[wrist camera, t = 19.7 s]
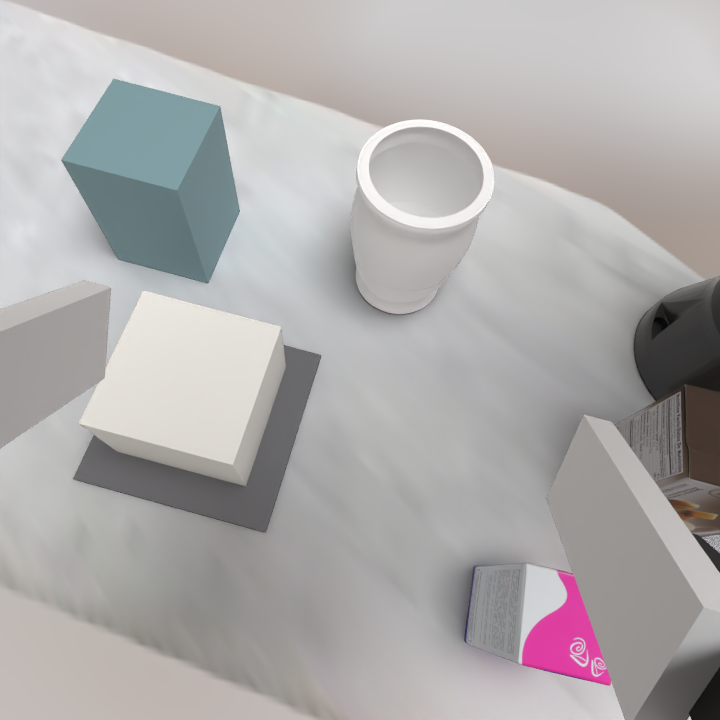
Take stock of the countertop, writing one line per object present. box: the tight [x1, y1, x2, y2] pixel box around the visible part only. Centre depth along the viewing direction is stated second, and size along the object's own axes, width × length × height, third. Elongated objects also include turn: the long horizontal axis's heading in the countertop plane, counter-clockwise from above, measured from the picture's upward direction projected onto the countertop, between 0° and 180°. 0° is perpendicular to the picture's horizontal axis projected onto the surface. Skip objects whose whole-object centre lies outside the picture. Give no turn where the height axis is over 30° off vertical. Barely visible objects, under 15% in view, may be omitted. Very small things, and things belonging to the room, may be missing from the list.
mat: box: [73, 345, 321, 533], centre depth 46 cm, size 16×16×1 cm
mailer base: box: [62, 79, 240, 283], centre depth 48 cm, size 9×9×13 cm
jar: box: [351, 120, 495, 314], centre depth 47 cm, size 11×10×15 cm
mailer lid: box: [79, 291, 286, 486], centre depth 43 cm, size 11×11×8 cm
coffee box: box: [615, 384, 720, 537], centre depth 40 cm, size 9×6×16 cm
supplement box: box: [465, 563, 611, 685], centre depth 37 cm, size 6×6×12 cm
